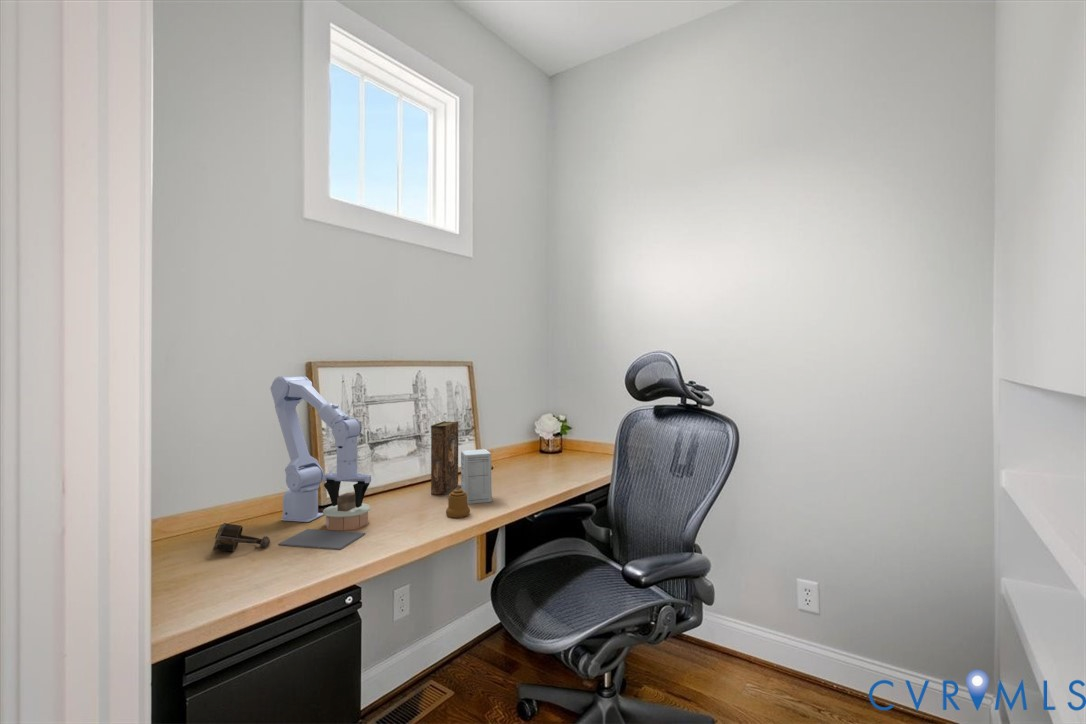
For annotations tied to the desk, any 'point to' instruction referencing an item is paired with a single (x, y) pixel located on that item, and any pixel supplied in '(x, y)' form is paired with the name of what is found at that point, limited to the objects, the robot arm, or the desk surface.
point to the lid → (346, 507)
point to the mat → (322, 539)
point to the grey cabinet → (476, 475)
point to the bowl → (346, 522)
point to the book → (444, 457)
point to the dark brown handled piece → (235, 538)
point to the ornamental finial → (457, 504)
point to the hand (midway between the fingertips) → (346, 506)
